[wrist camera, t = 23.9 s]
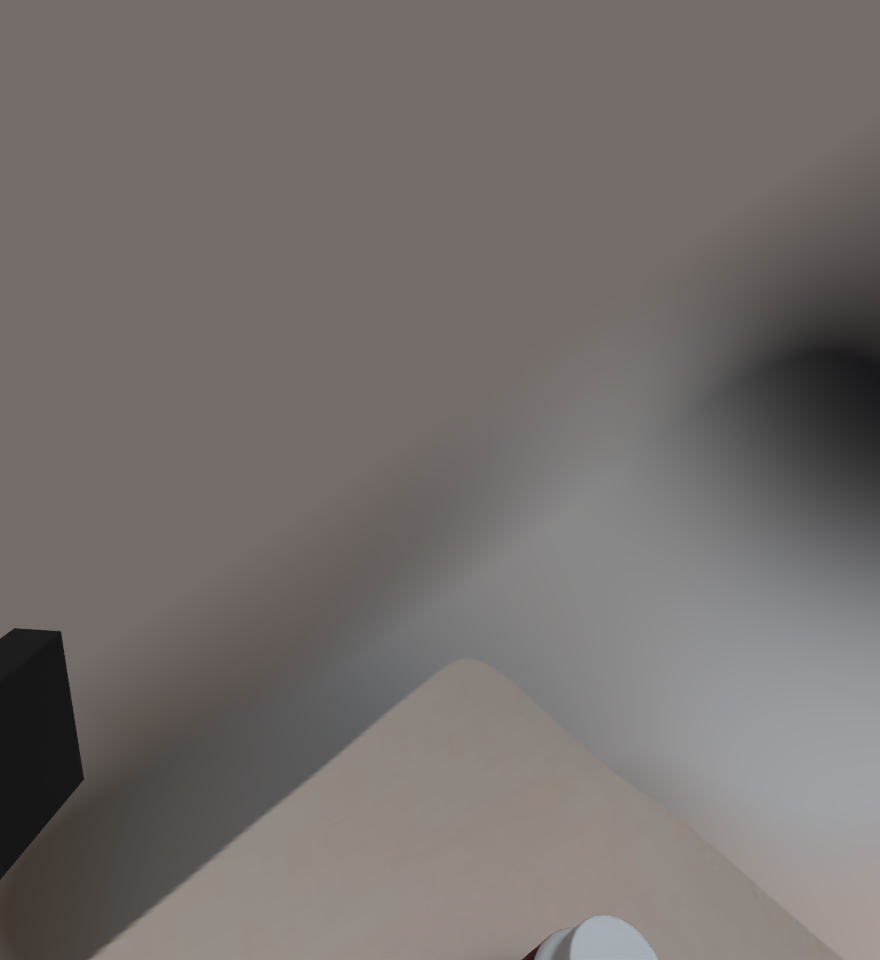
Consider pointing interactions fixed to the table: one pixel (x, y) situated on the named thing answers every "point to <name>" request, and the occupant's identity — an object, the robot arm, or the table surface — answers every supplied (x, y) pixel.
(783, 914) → the table surface
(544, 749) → the table surface
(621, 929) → the pill bottle
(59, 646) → the robot arm
